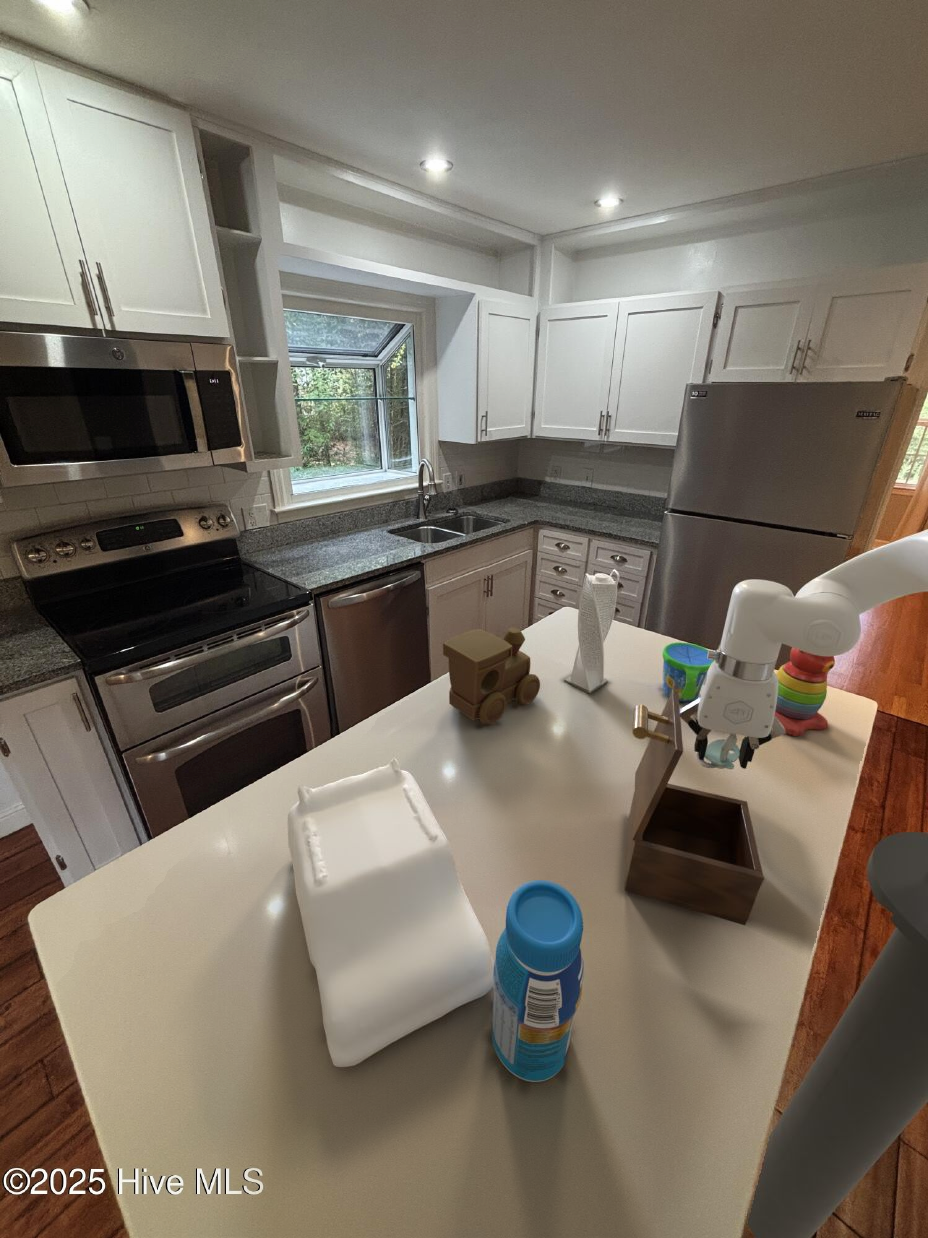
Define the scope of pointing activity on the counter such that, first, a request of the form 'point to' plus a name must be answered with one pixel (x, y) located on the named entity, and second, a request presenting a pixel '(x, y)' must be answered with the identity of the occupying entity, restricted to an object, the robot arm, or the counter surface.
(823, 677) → the stacking bear
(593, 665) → the skyscraper
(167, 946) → the counter surface
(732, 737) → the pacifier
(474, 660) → the wooden toy train
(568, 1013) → the beverage bottle
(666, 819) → the chest
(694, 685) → the snack cup
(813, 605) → the robot arm
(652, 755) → the lid
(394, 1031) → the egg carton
